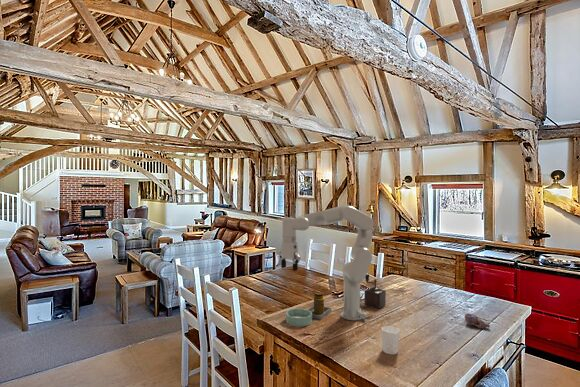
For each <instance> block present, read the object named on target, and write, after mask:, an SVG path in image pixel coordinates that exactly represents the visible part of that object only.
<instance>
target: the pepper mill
mask: <svg viewBox="0 0 580 387" xmlns="http://www.w3.org/2000/svg"><path fill="white" fill-rule="evenodd" d="M364 281H365V282H366V284H374V286H372V287H369V288H367V289H365V290H364V293H363V294H364V300H363V301H364V306H366V305H367V307H371V308H374V309H381V308H383V307H385V306H386V304H387V303H386V302H387V294H386V293H387V290H385V289H382V288H380V287H379V286H378V285H377V279H373V281H370V274H369V273H367V274H366V277H365V279H364Z"/></svg>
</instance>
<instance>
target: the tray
mask: <svg viewBox="0 0 580 387" xmlns="http://www.w3.org/2000/svg"><path fill="white" fill-rule="evenodd" d="M306 309H307V310H309V311H311V312H312V311H314V304H312V306H310V307H309V308H306ZM331 312H332V307H328V306H324V313H323V314H322V315H315V314H312V319H316V320H320V321H321V320H322V319H323V318H325V317H326V316H328V314H330V313H331Z"/></svg>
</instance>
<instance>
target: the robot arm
mask: <svg viewBox="0 0 580 387" xmlns="http://www.w3.org/2000/svg"><path fill="white" fill-rule="evenodd" d="M343 221H346V222H348V223H350V224H351V225H353V226H355V228H356V229H357V236H356V239H355V242H354V244H353V245H352V249H351V252H350V256H351V258H352V259H353V261H348V262H346V263H345V264H344V266H342V277H343V279H342V280H343V306H342V307H343V308H342V309H343V311H342V312H340V317H341V318H342V319H343V320H344V319H345V320H347V321H359V320H362V319H363V318H367V317H368V313H367V312H366V311H362V308H361V283H362V282H363V281H365V280H366V279H365V277H366V274H368V271H369V269H370V266H371V264H372V260H373V254H372V251H371V250H370V246H371V244H372V240H373V227H374V225H375V224H374V219H373V218H372V217H371V216H370V215H368V214H366V213H365V212H362V211H360V210H359V209H357V208H355V207H354V206H351V205H346V204H345V205H340V206H336V207H331V208H328V209H324V210H319V211H316V212H311V213H307V214H303V215H299V216H297V217H289V216H288V217H287V216H286V217H283V219H282V221H281V222H282V241H281V248H280V249H281V250H280V251H279V252H278V256H279V259H280V262H281V264H280V266H281V267H280V268H281V269H284V268H287V260H290V261H292V271H293V272H296V271H298V270H299V267H298V266H299V263H300V260H301V256H300V254H299V248H298V243H297V235H296V234H297V233H296V232H297V231H307V230H308V229H309V228H310V227H314V226H318V225H319V226H322V225H323V226H327V225H331V224H335V223H339V222H343Z"/></svg>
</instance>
